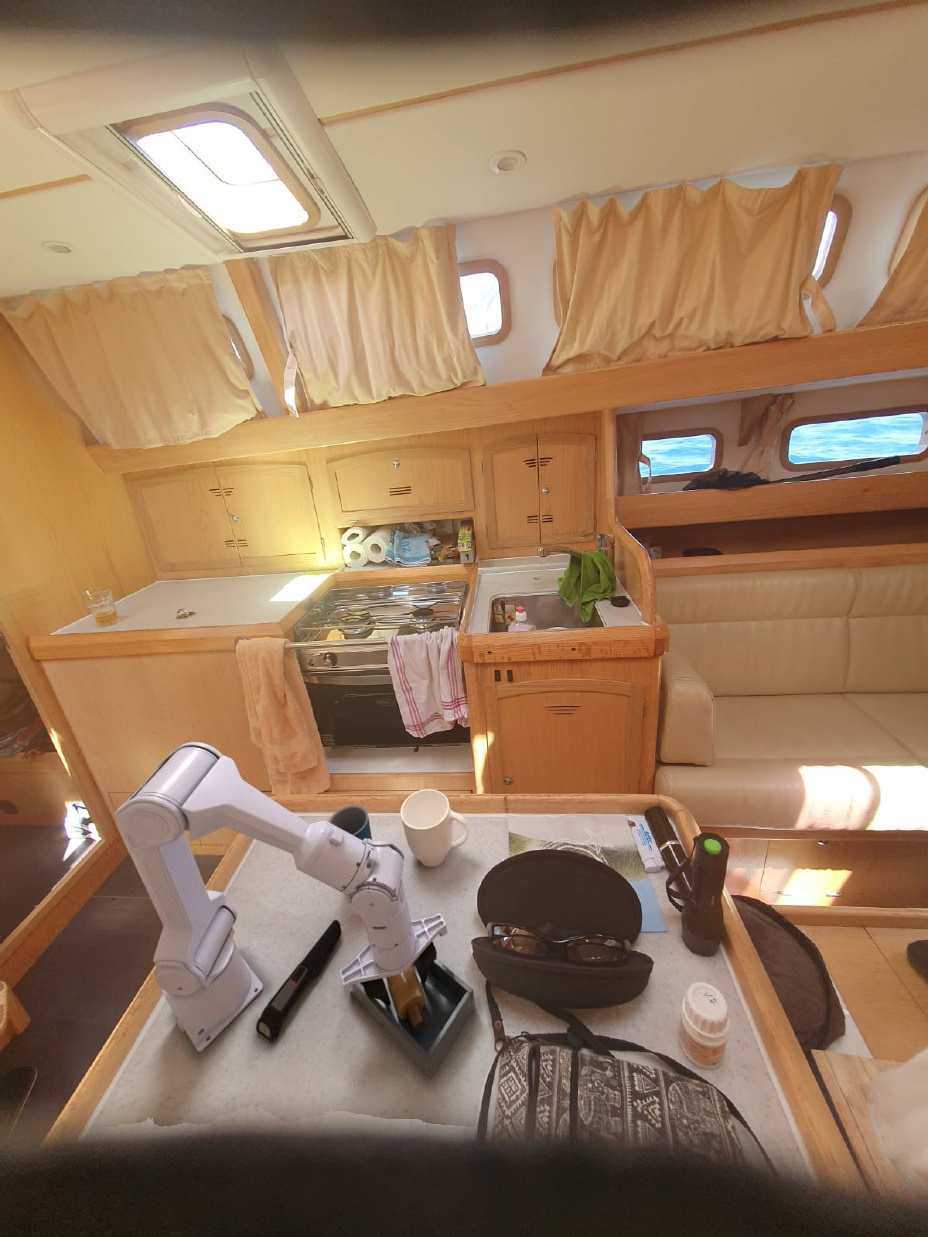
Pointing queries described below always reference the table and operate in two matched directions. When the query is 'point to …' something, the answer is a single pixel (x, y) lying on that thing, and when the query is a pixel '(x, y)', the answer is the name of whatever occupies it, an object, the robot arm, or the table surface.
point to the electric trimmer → (297, 983)
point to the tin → (427, 1016)
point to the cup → (353, 821)
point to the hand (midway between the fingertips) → (404, 986)
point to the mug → (430, 826)
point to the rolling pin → (408, 997)
